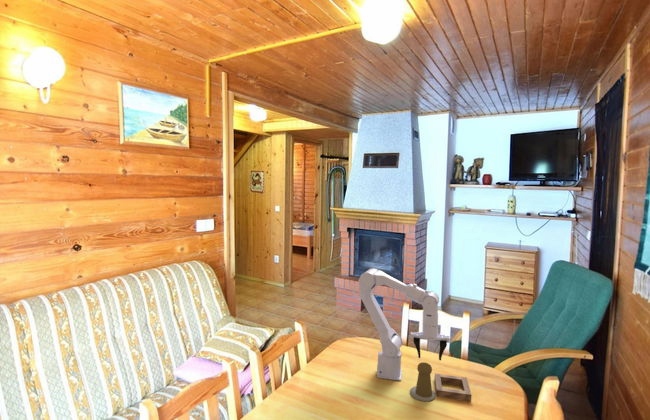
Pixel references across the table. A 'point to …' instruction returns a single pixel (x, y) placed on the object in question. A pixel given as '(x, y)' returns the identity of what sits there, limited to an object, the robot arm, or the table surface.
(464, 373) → the table surface
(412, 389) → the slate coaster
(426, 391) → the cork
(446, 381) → the walnut holder
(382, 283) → the robot arm
